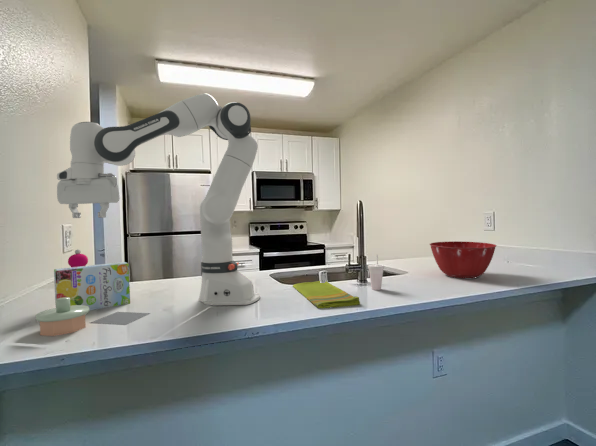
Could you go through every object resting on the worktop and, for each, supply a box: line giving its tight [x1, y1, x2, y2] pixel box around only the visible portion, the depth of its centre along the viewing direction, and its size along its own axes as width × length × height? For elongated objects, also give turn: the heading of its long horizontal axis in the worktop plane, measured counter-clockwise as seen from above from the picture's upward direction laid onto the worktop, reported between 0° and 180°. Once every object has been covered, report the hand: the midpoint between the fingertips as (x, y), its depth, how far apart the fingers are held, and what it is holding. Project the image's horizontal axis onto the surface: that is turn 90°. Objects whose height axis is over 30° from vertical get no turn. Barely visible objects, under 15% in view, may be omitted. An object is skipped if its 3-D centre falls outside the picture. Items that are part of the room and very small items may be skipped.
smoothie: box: [367, 254, 385, 291], centre depth 133 cm, size 6×6×14 cm
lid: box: [35, 297, 90, 323], centre depth 91 cm, size 12×12×4 cm
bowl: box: [39, 314, 87, 337], centre depth 91 cm, size 10×10×4 cm
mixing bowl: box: [429, 240, 497, 279], centre depth 157 cm, size 28×28×15 cm
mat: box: [89, 311, 151, 326], centre depth 100 cm, size 12×11×1 cm
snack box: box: [53, 261, 131, 311], centre depth 112 cm, size 21×6×15 cm, turn 129°
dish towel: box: [292, 280, 361, 309], centre depth 126 cm, size 15×36×3 cm, turn 15°
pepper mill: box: [67, 248, 89, 268], centre depth 118 cm, size 7×7×20 cm
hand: (89, 217), depth 105 cm, fingers open, 8 cm apart
